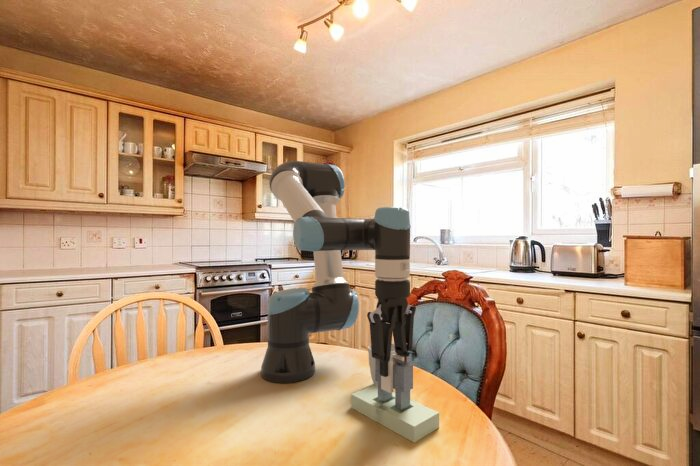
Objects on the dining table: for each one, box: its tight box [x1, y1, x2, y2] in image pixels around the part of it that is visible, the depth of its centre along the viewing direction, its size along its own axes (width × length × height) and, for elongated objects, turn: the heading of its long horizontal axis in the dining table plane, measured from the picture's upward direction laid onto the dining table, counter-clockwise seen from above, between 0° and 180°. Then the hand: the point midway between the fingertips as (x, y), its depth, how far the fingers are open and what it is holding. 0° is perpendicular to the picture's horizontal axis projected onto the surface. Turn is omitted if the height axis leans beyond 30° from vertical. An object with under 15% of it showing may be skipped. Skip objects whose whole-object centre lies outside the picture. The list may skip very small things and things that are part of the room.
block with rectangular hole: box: [350, 384, 440, 443], centre depth 75 cm, size 18×8×3 cm, turn 41°
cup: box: [367, 343, 397, 385], centre depth 90 cm, size 8×8×10 cm
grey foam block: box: [375, 357, 414, 411], centre depth 74 cm, size 8×3×9 cm, turn 42°
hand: (392, 387), depth 75 cm, fingers closed on grey foam block, 3 cm apart
